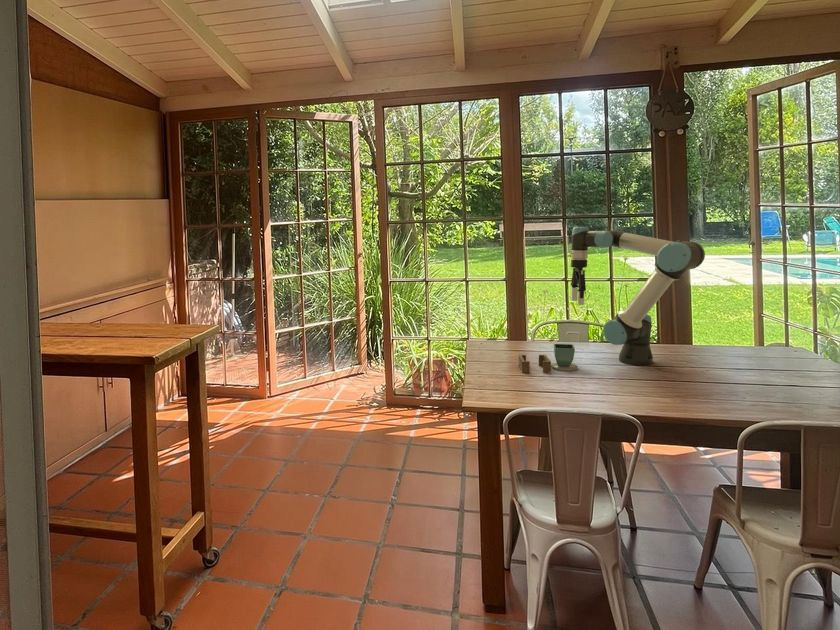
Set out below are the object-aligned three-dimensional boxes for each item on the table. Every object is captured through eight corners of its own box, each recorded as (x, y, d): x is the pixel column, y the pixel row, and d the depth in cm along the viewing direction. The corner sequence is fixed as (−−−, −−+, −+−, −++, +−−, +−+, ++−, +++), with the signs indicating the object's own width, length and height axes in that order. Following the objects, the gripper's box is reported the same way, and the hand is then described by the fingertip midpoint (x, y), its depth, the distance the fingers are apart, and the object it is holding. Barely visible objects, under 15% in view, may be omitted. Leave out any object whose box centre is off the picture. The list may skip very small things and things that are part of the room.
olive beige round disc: (574, 364, 249) (574, 362, 249) (580, 371, 237) (580, 369, 237) (548, 364, 250) (548, 362, 250) (553, 371, 238) (553, 369, 238)
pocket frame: (545, 365, 248) (545, 354, 247) (550, 372, 236) (550, 361, 235) (518, 365, 249) (518, 354, 248) (521, 372, 237) (522, 361, 236)
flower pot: (574, 367, 240) (575, 348, 238) (554, 367, 241) (554, 348, 240) (572, 362, 248) (573, 344, 247) (552, 362, 250) (553, 343, 248)
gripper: (565, 257, 269) (564, 299, 273) (577, 261, 244) (575, 306, 248) (580, 257, 269) (579, 299, 272) (593, 260, 244) (591, 306, 248)
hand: (577, 302), depth 260 cm, fingers open, 13 cm apart
